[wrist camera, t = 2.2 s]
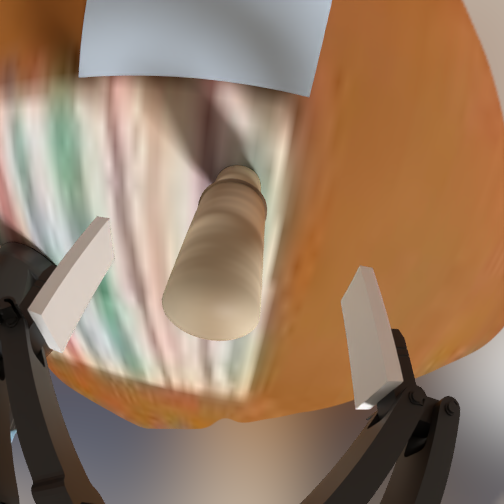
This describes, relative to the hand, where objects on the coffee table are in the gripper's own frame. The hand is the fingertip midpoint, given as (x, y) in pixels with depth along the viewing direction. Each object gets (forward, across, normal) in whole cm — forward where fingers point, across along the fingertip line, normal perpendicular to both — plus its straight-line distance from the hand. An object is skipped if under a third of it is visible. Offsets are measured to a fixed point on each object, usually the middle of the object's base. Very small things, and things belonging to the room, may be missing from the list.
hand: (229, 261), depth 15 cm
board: (+9, -5, +17) cm, 20 cm away
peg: (+9, -1, 0) cm, 9 cm away
